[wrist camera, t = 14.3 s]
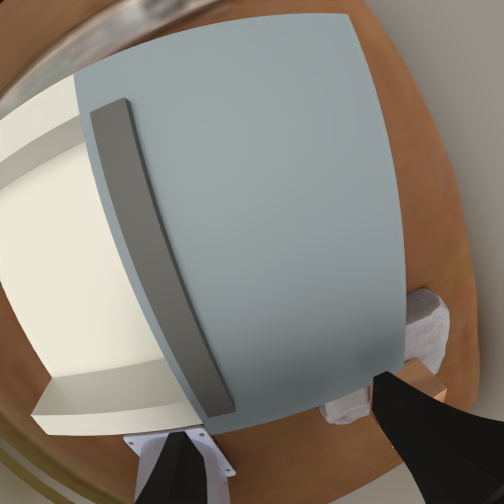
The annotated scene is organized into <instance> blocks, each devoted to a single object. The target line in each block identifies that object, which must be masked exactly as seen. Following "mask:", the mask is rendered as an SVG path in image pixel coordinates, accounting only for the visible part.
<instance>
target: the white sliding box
mask: <svg viewBox="0 0 504 504" xmlns="http://www.w3.org/2000/svg"><path fill="white" fill-rule="evenodd" d="M0 281H1V283H2V286H3V288H4V290H5V293H6V295H7V297H8V299H9V302H10V304H11V306H12V308H13V310H14V312H15V314H16V316H17V318H18V320H19V322H20V324H21V326H22V328H23V330H24V332H25V334H26V335H27V337H28V339H29V341H30V342H31V344H32V346H33V348H34V349H35V351H36V353H37V354H38V356H39V358H40V359H41V361H42V362H43V364H44V366H45V367H46V369H47V370H48V372H49V373H50V375H51V376H52V379H51V381H50V383H49V384H48V386H47V388H46V389H45V391H44V393H43V394H42V396H41V398H40V400H39V401H38V403H37V405H36V407H35V409H34V410H33V412H32V414H31V416H32V417H33V418H34V420H35V421H36V422H37V423H38V424H39V425H40V427H41V428H42V429H43V430H44V431H45V432H46V433H47V434H49V435H114V434H129V433H140V432H150V431H159V430H166V429H174V428H180V427H186V426H192V425H198V424H203V423H202V421H201V420H200V418H199V417H198V415H197V413H196V412H195V410H194V408H193V407H192V405H191V403H190V402H189V400H188V398H187V397H186V395H185V393H184V392H183V390H182V388H181V386H180V385H179V383H178V381H177V379H176V377H175V376H174V374H173V372H172V370H171V368H170V366H169V365H168V363H167V361H166V359H165V357H164V355H163V353H162V351H161V349H160V347H159V345H158V343H157V341H156V339H155V337H154V335H153V333H152V331H151V329H150V327H149V325H148V323H147V320H146V318H145V316H144V314H143V312H142V310H141V307H140V305H139V303H138V301H137V298H136V296H135V294H134V291H133V289H132V286H131V284H130V282H129V279H128V277H127V274H126V272H125V269H124V267H123V264H122V262H121V259H120V256H119V254H118V251H117V248H116V245H115V243H114V240H113V237H112V234H111V231H110V228H109V225H108V222H107V219H106V216H105V213H104V210H103V207H102V204H101V200H100V197H99V194H98V190H97V187H96V183H95V180H94V176H93V172H92V168H91V164H90V160H89V156H88V152H87V148H86V144H85V139H84V135H83V130H82V125H81V120H80V115H79V109H78V103H77V97H76V91H75V84H74V76H73V75H71V76H69V77H67V78H65V79H63V80H61V81H60V82H58V83H56V84H54V85H53V86H51V87H49V88H48V89H46V90H44V91H43V92H41V93H39V94H38V95H36V96H35V97H33V98H31V99H30V100H28V101H27V102H25V103H24V104H22V105H21V106H20V107H18V108H17V109H15V110H14V111H13V112H11V113H10V114H8V115H7V116H6V117H4V118H3V119H2V120H0Z"/></svg>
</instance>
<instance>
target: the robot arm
mask: <svg viewBox="0 0 504 504" xmlns="http://www.w3.org/2000/svg"><path fill="white" fill-rule="evenodd" d="M372 411H373V413H374V415H375V417H376V419H377V421H378V423H379V425H380V427H381V429H382V431H383V432H384V434H385V435H386V437H387V438H388V439H389V441H390V442H391V444H392V445H393V447H394V448H395V450H396V451H397V452H398V454H399V455H400V457H401V458H402V460H403V461H404V462H405V464H406V465H407V467H408V469H409V470H410V472H411V473H412V475H413V478H414V479H415V482H416V484H417V486H418V487H419V490H420V492H421V494H422V496H423V498H424V501H425V503H426V504H504V422H502V421H497V420H492V419H487V418H483V417H479V416H476V415H473V414H469V413H467V412H464V411H461V410H459V409H456V408H454V407H451V406H449V405H447V404H445V403H443V402H440V401H438V400H436V399H434V398H433V397H431V396H429V395H427V394H425V393H423V392H421V391H420V390H418V389H416V388H415V387H413V386H411V385H410V384H408V383H406V382H405V381H403V380H401V379H400V378H398V377H397V376H395V375H393V374H392V373H390V372H389V371H385V372H383V373H381V374H379V375H377V376H374V377H373V393H372ZM123 439H124V441H125V442H126V443H127V444H128V445H129V446H130V447H131V448H132V449H133V450H134V452H135V453H136V454H137V455H138V456H139V457H140V460H139V467H138V474H137V482H136V490H135V498H134V504H230V497H229V489H228V481H227V477H228V476H234V475H235V474H236V471H235V470H234V468H233V467H232V466H231V464H230V463H229V461H228V460H227V459H226V457H225V456H224V454H223V453H222V452H221V450H220V449H219V447H218V446H217V444H216V443H215V441H214V440H213V438H212V437H211V435H210V434H209V432H208V431H207V429H206V428H205V427H204V426H202V425H197V426H191V427H185V428H179V429H172V430H165V431H157V432H148V433H137V434H126V435H124V437H123Z"/></svg>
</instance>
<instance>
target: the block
mask: <svg viewBox="0 0 504 504" xmlns="http://www.w3.org/2000/svg"><path fill="white" fill-rule="evenodd" d="M393 375H395V376H397V377H398V378H400V379H401V380H403V381H405V382H406V383H408V384H410V385H411V386H413V387H415V388H416V389H418V390H420V391H421V392H423V393H425V394H427V395H429V396H431V397H433V398H434V399H436V400H438V401H440V402H444V398H445V395H446V391H447V387H446V386H445V385H444V384H443V383H442V382H441V381H440V380H439V379H438V378H437V377H436V376H435V375H434V374H433V373H432V372H431V371H430V370H429V369H428V368H427V367H426V366H425V365H424V364H423V363H422V362H421V361H420V360H419V359H418V358H417V357H415V358H413V359H411V360H409V361H408V362H406V363H404V366H403V369H402V370H400V371H399V372H397V373H395V374H393ZM372 393H373V384H372V385H370V414H371V416H372V417H373V419H374V420H375V422H376V424H377V425H378V427H379V428H380V430H381V431H382V429H381V427H380V425H379V423H378V421H377V419H376V417H375V415H374V413H373V411H372ZM382 433H383V435H384V436H385V438H386V439H387V441H388V442H389V444H390V446H391V447H392V448H393V445H392V444H391V442H390V441H389V439H388V438H387V437H386V435H385V434H384V432H383V431H382Z"/></svg>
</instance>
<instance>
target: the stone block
mask: <svg viewBox="0 0 504 504" xmlns="http://www.w3.org/2000/svg"><path fill="white" fill-rule="evenodd" d="M449 326H450V320H449V311H448V309H447V307H446V305H445V304H444V302H443V301H442V299H441V298H440V296H439V295H437V294H435V293H432V292H431V291H429V290H428V289H425V288H421V289H417V290H415V291H413V292H411V293H409V294H407V295H406V335H405V353H404V363H406V362H408V361H409V360H411V359H413V358H415V357H417V358H418V359H419V360H420V361H421V362H422V363H423V364H424V365H425V366H426V367H427V368H428V369H429V370H430V371H431V372H432V373H433V374H434V375H435V374H436V373H437V372H438V370H439V366H440V364H441V361H442V359H443V357H444V355H445V344H446V342H447V339H448V332H449ZM317 407H318V409H319V411H320V413H321V414H322V416H323V417H324V418H325V419H326V421H328V422H329V423H330V424H331V423H335V424H337V425H338V424H348V423H350V422H352V421H354V420H356V419H358V418H360V417H363V416H366V415H369V414H370V385H369V386H367V387H365V388H363V389H360V390H358V391H356V392H353V393H351V394H349V395H346V396H344V397H341V398H339V399H336V400H333V401H331V402H328V403H326V404H323V405H320V406H317Z"/></svg>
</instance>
